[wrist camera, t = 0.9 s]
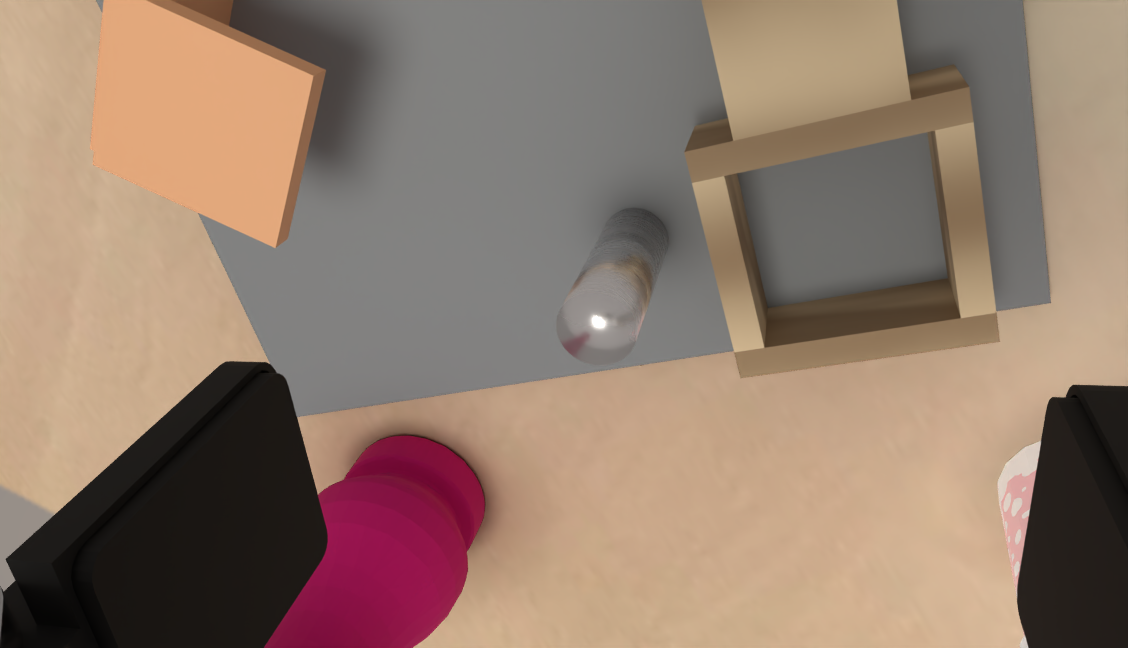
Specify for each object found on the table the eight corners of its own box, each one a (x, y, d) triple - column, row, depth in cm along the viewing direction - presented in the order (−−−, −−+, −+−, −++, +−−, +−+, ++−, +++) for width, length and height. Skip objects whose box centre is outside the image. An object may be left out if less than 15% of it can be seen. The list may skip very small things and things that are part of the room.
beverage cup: (1178, 423, 31) (1408, 781, 19) (1139, 560, 34) (1320, 948, 22) (987, 411, 33) (1090, 737, 21) (965, 543, 36) (1045, 899, 24)
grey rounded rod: (659, 201, 32) (624, 285, 25) (676, 264, 32) (646, 359, 26) (594, 215, 32) (545, 299, 26) (612, 275, 33) (569, 370, 27)
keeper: (397, 37, 32) (313, 75, 26) (357, 186, 35) (275, 248, 29) (208, -48, 32) (88, -26, 27) (185, 108, 35) (73, 155, 30)
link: (983, 299, 30) (999, 341, 28) (745, 336, 33) (740, 378, 31) (906, -317, 24) (918, -337, 21) (614, -207, 26) (592, -213, 24)
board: (983, -366, 23) (988, -372, 23) (1046, 295, 30) (1050, 302, 30) (95, -28, 33) (84, -26, 33) (302, 409, 40) (295, 417, 40)
